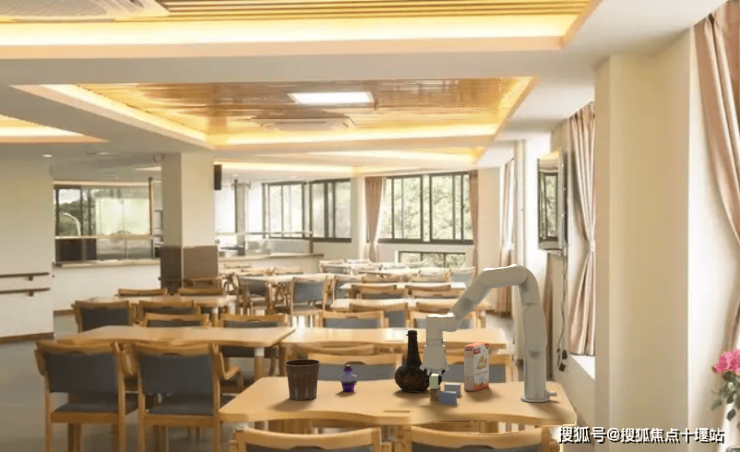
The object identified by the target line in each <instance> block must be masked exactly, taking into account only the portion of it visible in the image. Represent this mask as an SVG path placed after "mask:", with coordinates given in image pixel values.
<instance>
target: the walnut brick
mask: <svg viewBox="0 0 740 452" xmlns="http://www.w3.org/2000/svg"><path fill="white" fill-rule="evenodd" d="M440 391H442V390H441V385H440V386H439V387H438V389H431V388H429V401H430V402H431V401H434V402H439V392H440Z"/></svg>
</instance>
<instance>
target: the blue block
mask: <svg viewBox="0 0 740 452" xmlns="http://www.w3.org/2000/svg"><path fill="white" fill-rule="evenodd" d="M457 397H458V396H457V392H452V391H444V390H441V391H440V392H439V400H438V404H439V405H449V406H450V405H451V406H453V405H454V406H456V405H457V404H458V400H457V399H458V398H457Z"/></svg>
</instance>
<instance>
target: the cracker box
mask: <svg viewBox="0 0 740 452" xmlns="http://www.w3.org/2000/svg"><path fill="white" fill-rule="evenodd" d="M489 346H490V343H489V342H485V341H484V342H482V341H480V342H479V341H478V342H477V341H476V342H474V343H469V344H465V345H464V346H463V390H464V391H468V392H477V391H479V390H482V389H485V388H489V387H490V385H489V384H490V382H489V381H490V377H489V376H490V369H489V367H490V364H489V363H490V362H489V361H490V359H489V357H490V347H489Z"/></svg>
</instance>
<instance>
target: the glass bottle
mask: <svg viewBox="0 0 740 452" xmlns="http://www.w3.org/2000/svg"><path fill="white" fill-rule="evenodd" d="M405 336H407V354H406V361H405V363H404V364H402V365H400V366H398V367H397V369H396V370H395V372H394V381H395V383H396V385H397V386H398V387H399V389H401V390H402V391H403V392H406V393H421V392H424V391H426V390H428V389H430V384H429V382H428V375H427V374H426V373H425V372H424V371H423V370H421V369H420V366H421V364H422V362H423V361H422V359H421V355H420V351H419V344H418V330H415V329H409V330H407V334H405ZM426 369H427V368H426ZM432 374H434V373H433V370H431V375H432Z"/></svg>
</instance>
